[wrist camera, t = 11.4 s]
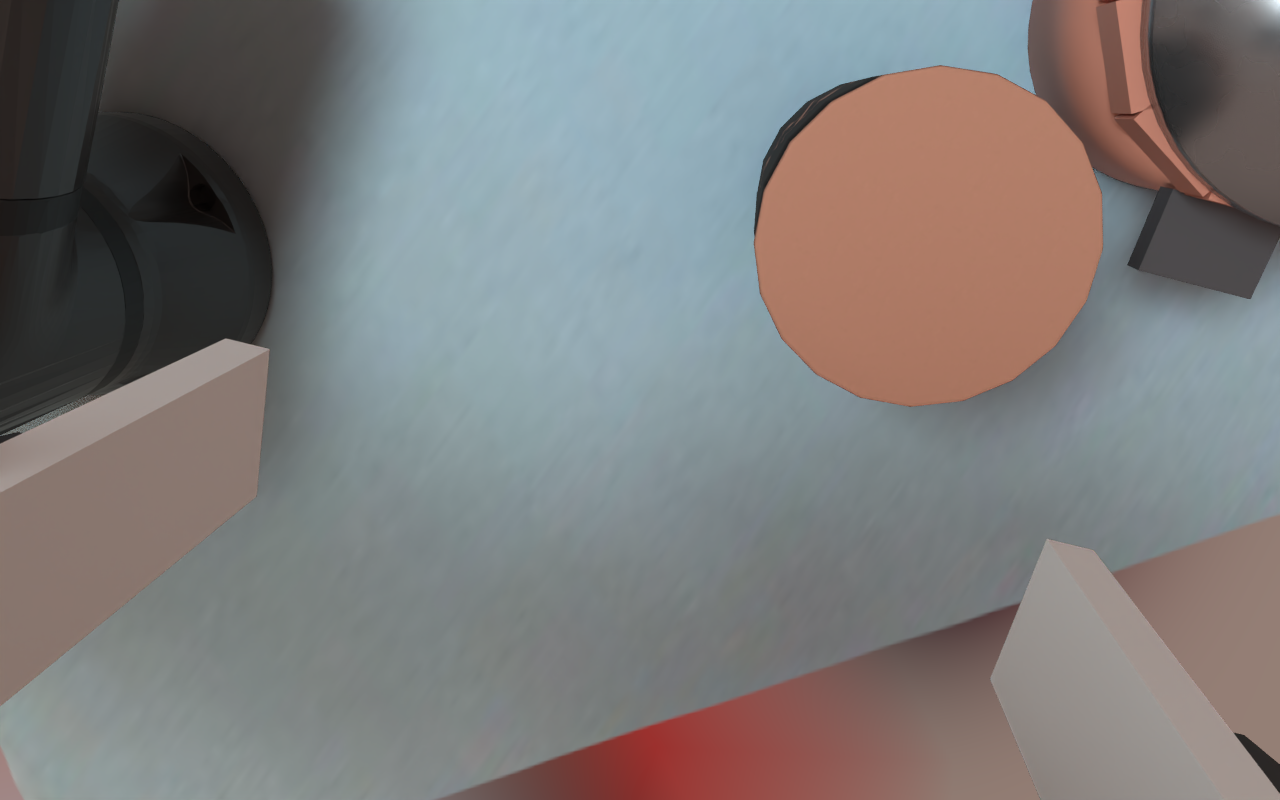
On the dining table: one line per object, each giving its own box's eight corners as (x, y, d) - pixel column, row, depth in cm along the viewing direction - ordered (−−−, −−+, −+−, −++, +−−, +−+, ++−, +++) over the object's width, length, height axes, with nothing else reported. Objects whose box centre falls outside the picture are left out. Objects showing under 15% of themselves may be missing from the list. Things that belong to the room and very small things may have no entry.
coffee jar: (950, 47, 44) (1069, 12, 27) (999, 265, 46) (1135, 358, 29) (731, 121, 46) (712, 131, 29) (789, 324, 49) (803, 443, 32)
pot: (1261, 288, 45) (1427, 350, 34) (957, 208, 46) (1021, 243, 34) (1495, -205, 38) (1802, -335, 27) (1134, -291, 39) (1286, -452, 28)
